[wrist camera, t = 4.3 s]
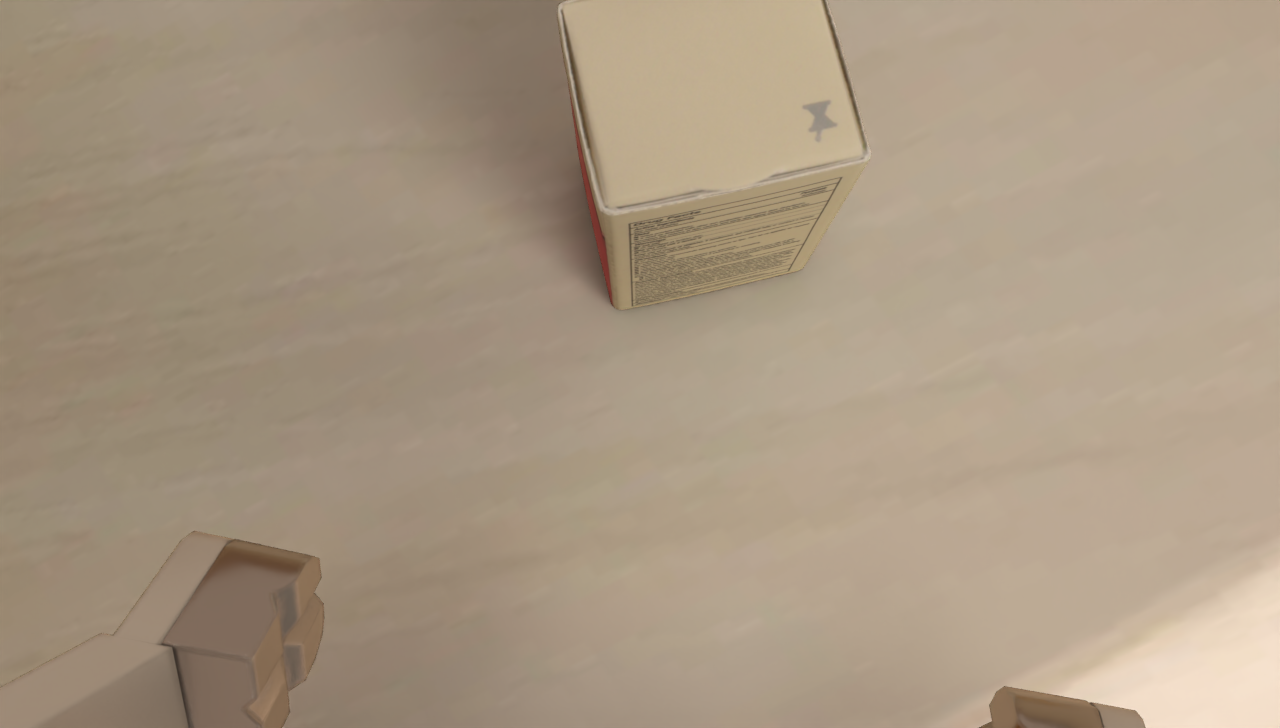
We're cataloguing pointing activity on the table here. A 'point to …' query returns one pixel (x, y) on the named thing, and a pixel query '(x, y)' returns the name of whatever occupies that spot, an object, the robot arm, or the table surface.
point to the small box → (709, 138)
